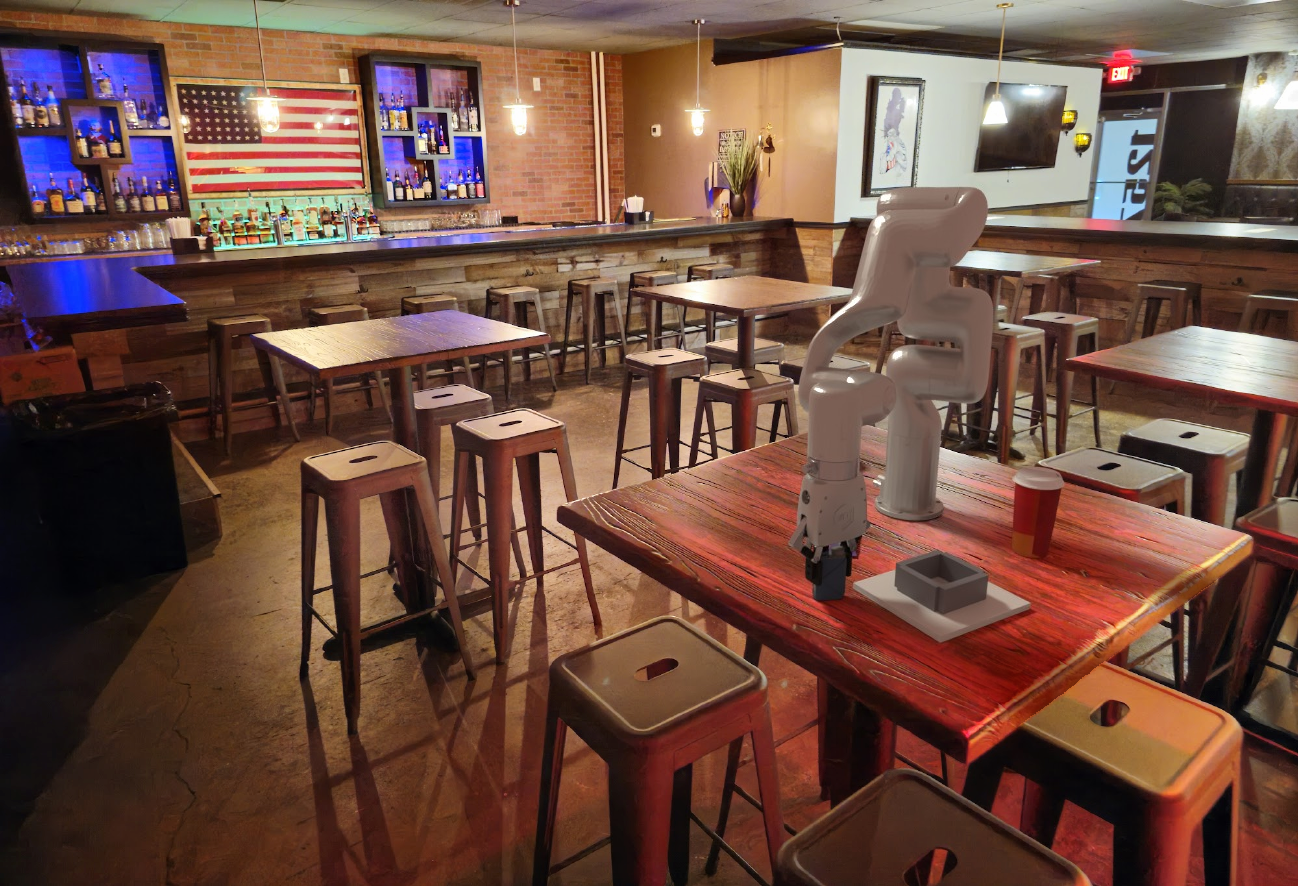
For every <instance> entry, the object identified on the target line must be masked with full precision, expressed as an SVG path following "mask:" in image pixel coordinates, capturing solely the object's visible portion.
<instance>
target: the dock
mask: <svg viewBox="0 0 1298 886" xmlns="http://www.w3.org/2000/svg"><path fill="white" fill-rule="evenodd" d="M989 576H990V575H989V574H987V573H986V570H984V569H982V568H979V567H978V566H976V565H974V564H972V563H970V562H968V561H966V560H963V559H962V558H960V557H958V556H956V555H953V554H951V553H950V552H947V551H945V552H943V551H941V550H939V549H937V550H933V551H931V552H930V551H929V552H927V553H923V554H920V555H917V556H914V557H911V558H907V559H904V560H901V561H898V562H895V568H894V569H893V570H890V571H885V572H883V573H879V574H876V575H874V576H871V577H868V578H865V579H861V580H857V581H854V582H853V583H852V589H853V590H855V591H856V592H858V593H860V594H862V596H864V597H866V598H868V599H869V600H871V601H873V602H874V603H875V604H877V605H879V606H880V607H882V608H884V609H885V610H887V611H889V612H891V613H892V614H893V615H895V616H896V617H898V618H900V619H901V620H903V621H905V623H908V624H909V625H911V626H912V627H914V628H916V629H918V630H919V631H921V632H922V633H924V634H926V636H929V638H930V637H931V638H932V639H934V640H935V641H937V642H938V643H940V644H941V643H943V642H947V641H949V640H952V639H954V638H957V637H959V636H961V635H964V634H967V633H969V632H973V631H976V630H978V629H979V628H980V629H981V628H984V627H985V626H988V625H991V624H994V623H997V622H999V621H1001V620H1004V619H1007V618H1009V617H1012V616H1016V615H1018V614H1020V613H1022V612H1025V611H1028V610H1030V609H1031V602H1030V601H1027V600H1026V599H1023V598H1022V597H1020V596H1018V595H1016V594H1014V593H1012V592H1010V591H1008V590H1006V589H1004V588H1002V587H1000V586H998V585H996V584H994V583H992V582H991V581H989Z"/></svg>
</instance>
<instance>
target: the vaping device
mask: <svg viewBox="0 0 1298 886" xmlns="http://www.w3.org/2000/svg"><path fill="white" fill-rule="evenodd" d="M829 548H830V545H828V546H824V547H823V549H822V552H821V556H820V561H821V562H822V563H823V568H822V584H821V585H820V586H816V585H814V584H813V583H812V599H814V600H815V601H831V600H832V601H834V600H841V599H843V598H844V596H845V593H846V585H847V584H846V582H847V581H846V579H847V577H846V566H847V558H845V557H846V554H845V553H844V547H842V546H839V545H835V546H832V547H831V551H829ZM813 550H814V544H813V545H812V551H813Z"/></svg>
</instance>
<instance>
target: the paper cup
mask: <svg viewBox="0 0 1298 886" xmlns="http://www.w3.org/2000/svg"><path fill="white" fill-rule="evenodd" d="M1011 479H1012V481H1013V483H1014V496H1013V515H1012V537H1011V548H1012V549H1011V550H1012V552H1014V553H1015V554H1017V555H1018V556H1021V557H1025V558H1029V559H1043V558H1045V557H1046V556H1048V554H1049V550H1050V547H1051V546H1050V545H1051V541H1052V537H1053V532H1054V527H1055V523H1056V519H1057V512H1058V507H1059V502H1060V498H1061V494H1062V493H1061V492H1062V488H1063V487H1064V486H1065V481H1064V480H1063V476H1062V475H1061V473H1060V472H1059V471H1057V470H1054V469H1051V468H1047V467H1042V466H1041V467H1040V466H1026V467H1022V468H1019V469H1018V470H1017V471H1016V472H1015V473H1014V476H1013V477H1012V478H1011Z"/></svg>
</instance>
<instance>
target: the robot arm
mask: <svg viewBox="0 0 1298 886" xmlns="http://www.w3.org/2000/svg"><path fill="white" fill-rule="evenodd" d="M988 212H989V204H988V199H987V197H986V195H985V193H984V192H983V191H982V190H981V189H979V188H977V187H971V186H970V187H969V186H940V187H939V186H911V187H909V186H908V187H900V188H893V189H890V190H886V191H885V192H883V193H882V194H880V196H879V197H878V200H877V203H876V216H875V217H874V218H873V219H872V220H871V221H870V224H869V226H868V229H867V233H866V237H865V241H864V245H863V247H862V252H861V256H860V259H859V263H858V267H857V271H856V275H855V279H854V284H853V287H852V290H851V291H852V292H851V296H850V299H849V300H848V302H847V303H846V304H845V305H844V306H842V307H841V308H840V309H839V310H838V311H836V312H835V313H834V314H832V316H830V317H829V318H828V319H827V321H825V322H824V323H823V325H822V326H821V327H820V328H819V329H818V331H817V332H816V334H815V335H814V336H813V338H812V340H811V341H810V343H809V345H808V348H807V350H806V354H805V358H804V362H803V366H802V368H801V373H800V377H799V382H798V388H797V389H798V391H797V392H798V393H797V395H798V397H797V398H798V402H799V404H800V406H801V408H802V409H803V410H804V411H805V412H807V414H808V421H807V423H808V424H807V426H808V427H807V441H808V442H807V453H806V463H805V464H803V465H801V471H802V473H803V474H804V475H803V479H802V481H801V482H802V483H801V486H800V492H799V498H798V504H797V513H796V514H797V516H796V528H795V530H794V532H793V534H792V535H791V536H790V538H789V539H788V542H787V543H788V546H790V547H791V548H793V549H794V550H796V551H797V552H798V553H800V554H801V555H802V557H804V558H805V565H804V566H805V567H804V568H805V569H804V574H805V575H804V576H805V579H806V581H809V582H810V583H811V584H812V585H813V584H814V585H816V586H820V585H821V584H822V568H823V563H822V562H821V561H820V556H821V552H822V549H823V547H824V546H828V545H829V546H830V545H832V544H836V543H839V545H840V546H842V547H844V553H845V554H846V557H845V558H847V566H846V578H849V577H851V576H852V571H853V568H852V567H853V556H852V552H855V551H856V552H857V548H858V546H857V545H858V544H859V542H860V541H861V539H862V538H863V535H864V534H865V533H866V532H867V531H868V530H869V528H870V527H871V522H870V521H869V519H868V499H867V497H868V495H867V488H866V487H867V486H866V480H865V477H864V473H863V472H862V471H861V470H860V465H861V444H862V443H861V440H862V427H865V426H869V425H872V424H873V425H875V424H877V423H879V422H881V421H883V420H885V419H886V418H887V417H888V422H887V434H886V435H887V436H886V437H887V438H886V453H885V468H884V469H885V470H884V473H880V474H878V475H877V478H875V479H874V480H873V481H872V486H873V487H875V488H878V489H879V493H880V494H878V495H877V496H876V497H875V499H874V508H876V510H878V511H879V512H880V513H881V514H883V515H885V516H887V517H888V516H889V517H891V518H894V519H898V520H904V521H926V520H932V519H936V518H938V517H939V516H941V515H942V514H943V512H944V507H945V506H944V503H943V502H942V501H941V499H939V498H938V497H937V486H938V484H937V483H938V474H939V463H940V452H941V451H940V450H941V441H942V439H941V437H942V428H943V426H942V425H943V423H942V418H941V415H940V412H939V410H938V408H937V407H936V404H935V403H934V402H933V401H939V402H948V403H956V404H970V405H971V404H976V403H977V402H980V401H981V400H982V399H983V398H984V397H985V394H986V391H987V388H988V386H989V385H988V384H989V379H990V378H989V377H990V368H991V367H990V364H991V355H992V353H991V352H992V341H993V332H994V331H993V330H994V329H993V328H994V305H993V301H992V298H991V296H990V295H989V293H988V292H986V291H985V290H984V289H981V288H977V287H966V286H965V287H963V286H952V284H951V282H950V278H951V277H950V275H951V267H955V266H956V265H957V264H959V263H960V262H961V261H962V260H963V259H964V258H965V256H966V254H968V252H969V251H970V250H971V248H972V246H974V244H975V243H976V242H977V241H978V239H979V238H980V236H981V235H982V233H983V231H984V229H985V226H986V223H987V219H988V215H989V214H988ZM895 322H896V323H897V328H898V332H900V334H901V335H903V336H904V337H907V338H909V339H915V340H921V341H923V340H924V341H930V342H931V341H933V342H943V343H955V344H957V345H958V347H959V348H955V347H954V348H953V347H945V346H938V345H937V346H935V345H924V344H907V345H902V346H899V347H897V348H895V349H894V350H893V351H892V352H891V353H890V354H889V356H888V358H887V361H886V365H885V366H886V367H885V368H886V369H885V374H883V373H878V372H873V371H863V370H856V369H848V368H841V367H839V368H838V367H831V366H830V364H831V361H832V359H833V357H834V355H835V354H836V352H837V351H838V349H840V348H841V347H842V346H843V345H844V344H845V343H847V342H849V340H851V339H853V338H855V337H857V336H859V335H861V334H864V333H866V332H869V331H872V330H875V329H879V328H881V327H884V326H886V325H890V324H892V323H895ZM829 366H830V367H829ZM804 539H805V540H804ZM803 541H804V543H803ZM813 544H814V550H813Z"/></svg>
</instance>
